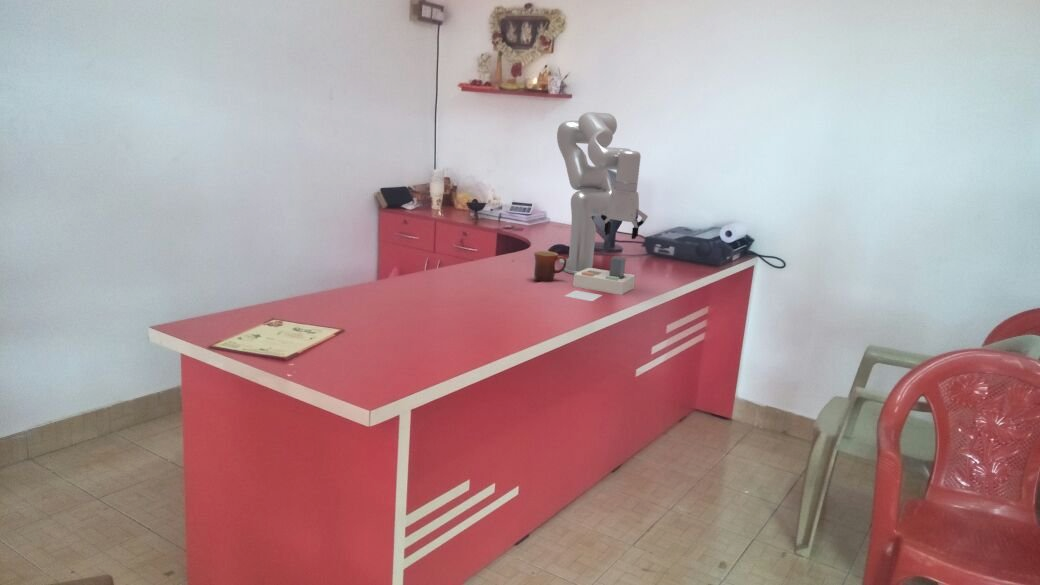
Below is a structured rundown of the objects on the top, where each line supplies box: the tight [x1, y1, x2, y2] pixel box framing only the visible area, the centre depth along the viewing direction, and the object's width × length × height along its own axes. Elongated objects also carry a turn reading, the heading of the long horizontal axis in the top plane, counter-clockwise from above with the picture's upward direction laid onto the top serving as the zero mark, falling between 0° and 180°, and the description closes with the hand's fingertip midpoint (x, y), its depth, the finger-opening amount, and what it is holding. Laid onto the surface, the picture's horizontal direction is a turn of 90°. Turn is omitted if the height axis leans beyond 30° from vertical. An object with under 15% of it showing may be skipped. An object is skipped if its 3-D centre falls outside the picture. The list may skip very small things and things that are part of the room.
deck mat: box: [564, 289, 603, 302], centre depth 239 cm, size 10×10×1 cm
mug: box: [533, 250, 567, 283], centre depth 258 cm, size 12×9×10 cm
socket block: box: [572, 267, 636, 296], centre depth 253 cm, size 18×14×6 cm
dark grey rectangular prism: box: [609, 256, 627, 279], centre depth 250 cm, size 4×4×10 cm
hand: (620, 236), depth 248 cm, fingers open, 9 cm apart
